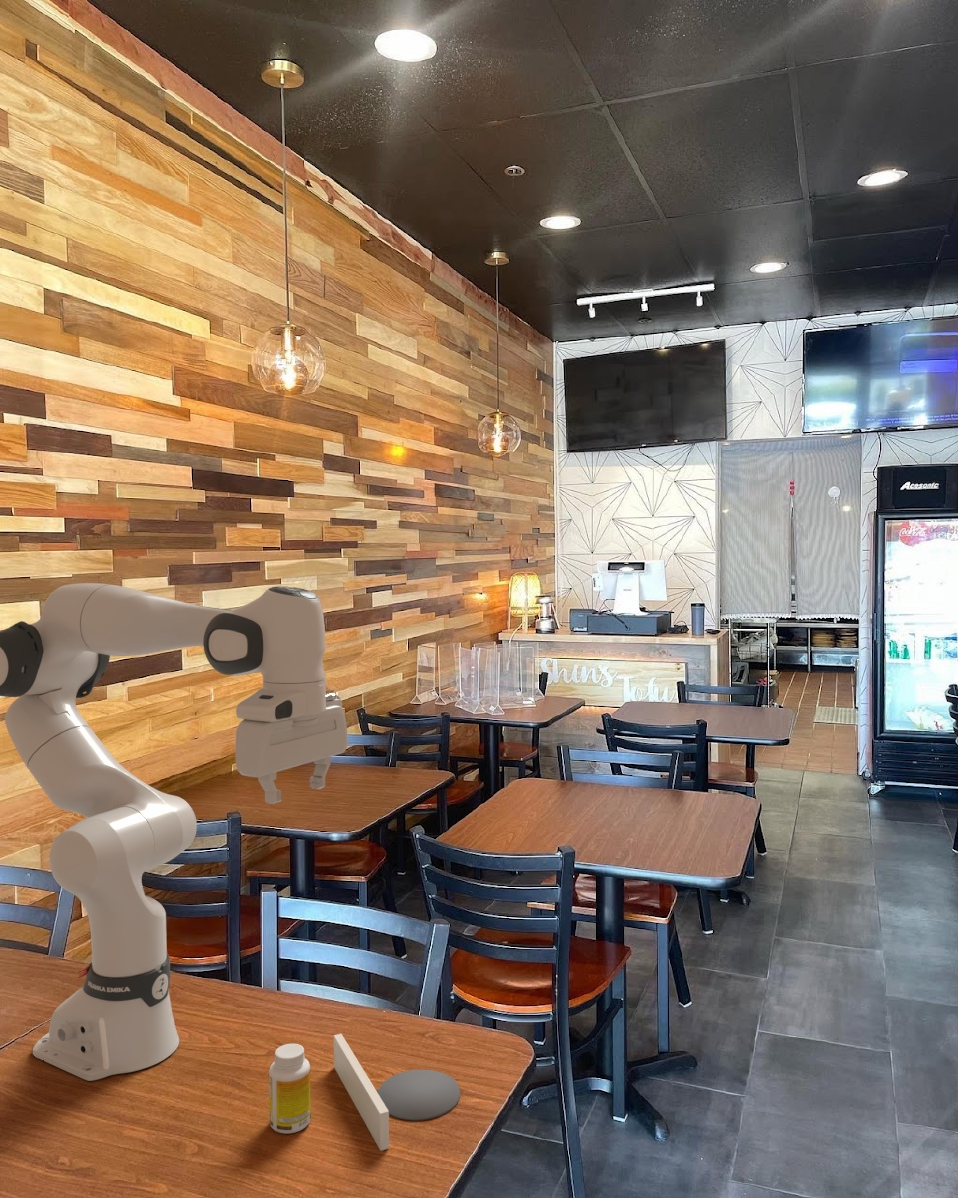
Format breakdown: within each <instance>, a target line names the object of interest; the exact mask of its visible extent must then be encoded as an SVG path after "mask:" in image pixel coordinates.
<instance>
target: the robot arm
mask: <svg viewBox="0 0 958 1198" xmlns="http://www.w3.org/2000/svg"><path fill="white" fill-rule="evenodd" d="M41 612H42V613H41V617H40V618H39V619H38V620H37V621H36V622H33V623H27V622H25V621H22V620H21V621H18V622H16V623H14V624H12V625H11V626H9V627H6V628H5V629H3V630H0V697H5V698H16V699H15V700H13V702H12V703H11V704H10V705H9V707H8V708H7V710H6V713H5V717H4V722H5V723H4V724H5V727H6V730H7V732H8V735H9V737H10V740H11V741H12V744H13V745H14V747H15V749H16V750H17V751H16V752H17V753H18V755H19V757H20V758H21V760H22V761H23V763H24V764H25V766H26V768H27V769H28V770H29V772H30V774H31V775H32V776H33V778H34V779H35V780H36V782H37V783H38V784H39V786H40V787H41V789H42V790H43V792H44V793H45V794H46V796H47V797H48V799H49V801H51V803H52V804H54V805H55V806H56V807H57V808H59V809H60V810H63V811H66V812H71V813H74V814H75V813H76V814H77V815H81V816H83V817H85V818H83V819H82V820H80V821H77V822H76V823H74V824H73V825H72V826H70V827H68V828H67V829H65V830H64V831H62V832H61V833H59V834H58V835H57V836H56V837H55V838H54V840H53V842H52V844H51V847H50V850H49V856H48V857H49V860H48V861H49V868H50V871H51V874H52V876H53V878H54V880H55V881H56V882H57V884H58V885H59V886H60V887H62V889H64V890H65V891H67V892H69V893H70V894H73V895H74V896H76V897H77V898H78V899H79V900H80V902H81V904H82V905H83V907H84V909H85V912H86V913H87V918H88V921H89V927H90V941H91V942H90V943H91V962H89V963H88V965H87V966H86V967H84V968H82V969H80V970H78V971H77V973H78V974H79V973H80V974H79V975H78V976H77V978H78V979H80V978H83V977H85V976H86V977H85V980H84V983H83V986H82V987H80V988H79V989H78V990H77V991H75V992H74V993H73V994H72V995H70V996H69V997H68V998H66V999H65V1000H64V1001H63V1002H62V1003H60V1005H59V1006H57V1007H56V1008H55V1010H54V1012H53V1013H52V1015H51V1018H50V1023H49V1029H48V1030H49V1031H47V1033H45V1034H44V1035H43V1036H42V1037H41V1038H40V1039H39V1040H37V1042H36V1043H35V1044H34V1046H33V1049H32V1054H33V1055H34V1056H35V1058H36V1059H39V1060H41V1061H43V1060H44V1062H46V1063H48V1064H50V1065H52V1066H55V1067H56V1068H58V1069H61V1070H63V1071H65V1072H67V1073H69V1074H72V1075H74V1076H76V1077H78V1078H80V1079H82V1080H85V1081H89V1082H91V1081H92V1082H93V1081H97V1080H101V1079H104V1078H107V1077H109V1076H114V1075H118V1074H119V1075H120V1074H126V1073H132V1072H136V1071H140V1070H143V1069H146V1068H149V1067H152V1066H154V1065H156V1064H159V1063H160V1062H162V1061H164V1060H165V1059H167V1058H168V1057H169V1056H171V1055H173V1053H174V1052H175V1051H176V1050H177V1048H178V1046H179V1044H180V1037H179V1035H178V1032H177V1028H176V1025H175V1024H176V1023H175V1018H174V1015H173V1014H174V1013H173V1009H172V1003H171V996H170V995H171V994H170V982H171V981H170V980H171V961H170V955H169V954H168V950H167V948H168V947H167V912H166V910H165V908H164V907H163V905H162V904H161V903H160V902H159V901H157V900H156V899H155V898H152V897H150V896H147V895H146V894H145V891H144V886H143V883H142V882H143V881H142V877H143V874H144V873H145V872H147V871H150V870H152V869H155V868H157V867H159V866H161V865H163V864H166V863H168V862H170V861H173V860H174V859H175V858H176V857H178V855H180V854H182V853H183V852H184V851H185V850H186V849H188V848H189V847H190V846H191V845H192V844H193V842H194V840H195V837H196V836H197V835H196V834H197V830H198V829H197V828H198V827H197V826H198V825H197V823H198V822H197V817H196V814H195V812H194V810H193V808H192V807H191V805H190V804H189V803H188V802H187V801H186V800H185V799H183V798H181V797H180V796H177V795H173V794H169V793H165V792H162V791H160V790H158V789H156V788H154V787H153V786H150V785H149V784H147V783H145V781H143V780H141V779H140V778H138V777H137V776H135V775H134V774H132V773H131V772H130V771H128V770H127V769H126V768H125V767H124V766H123V765H122V764H121V763H120V762H118V761H117V759H116V758H115V757H114V756H113V754H112V753H111V752H110V751H109V750H108V748H107V747H106V745H104V743H103V742H102V741H101V740H100V738H99V737H98V736H97V734H96V733H95V732H94V730H93V729H92V727H91V726H90V725H89V724H88V722H87V721H86V720H85V718H84V717H83V716H82V715H81V713H80V711H79V709H78V708H77V707H78V706H77V703H76V702H77V701H76V700H77V699H79V698H81V699H82V698H85V697H87V696H89V695H90V694H91V693H92V691H93V689H94V687H95V685H96V684H97V683H98V682H99V681H100V680H101V679H102V677H103V676H105V673H106V671H107V669H108V667H109V663H110V659H111V658H110V657H111V656H113V657H130V656H131V657H132V656H133V657H134V656H141V655H149V654H154V653H159V652H160V653H161V652H164V651H165V652H166V651H170V650H171V651H172V650H177V649H182V648H191V647H203V650H204V651H203V652H204V655H205V657H206V659H207V661H208V663H209V664H210V666H211V667H212V668H213V669H214V670H215V671H216V672H218V673H220V674H223V675H224V676H225V675H228V676H233V677H234V676H235V677H237V676H245V675H251V674H257V673H261V675H262V688H260V689H258V690H257V691H256V692H254V693H253V694H252V695H250V696H248V697H247V698H245V699H244V700H242V701H241V702H239V703H237V705H236V711H235V712H236V713H235V714H236V717H237V718H238V719H240V720H241V721H240V722H239V724H238V726H237V728H236V732H235V747H234V748H235V749H234V750H235V753H234V754H235V767H236V770H237V772H239V774H240V775H241V776H245V777H249V778H250V777H251V778H257V780H258V782H259V784H260V786H261V788H262V790H263V791H264V801H265V803H266V804H269V805H274V804H275V805H276V804H277V803H280V802H282V789H279V788H278V789H277V786H276V784H275V781H276V780H277V772H281V771H285V770H289V769H291V768H294V767H299V766H301V765H302V766H303V765H306V764H310V763H312V762H313V764H315V766H314V770H313V775H311V776H309V787H310V789H312V790H321V789H323V788H325V787H326V776H327V773H328V771H329V769H330V766H331V757H334V756H337V755H340V754H343V753H345V752H346V750H347V748H348V744H349V742H348V740H349V738H348V727H347V719H346V714H345V711H344V709H343V701H342V699H341V698H340V697H339V695H337V694H336V693H335V692H328V693H326V692H327V688H326V686H327V685H326V684H327V683H326V680H327V679H326V673H325V670H324V662H323V661H324V660H323V659H324V655H325V652H326V630H325V629H326V628H325V618H324V616H325V615H324V611H323V606H322V602H321V600H320V598H319V596H318V595H317V594H315V593H314V592H313V591H310V590H309V589H306V588H305V589H304V588H299V587H294V586H293V587H291V586H283V585H282V586H281V585H279V586H272V587H269V588H267V589H266V590H265V591H264V592H263V594H262V595H260V596H259V597H258V598H256V599H254V600H253V601H251V602H249V603H247V604H245V605H242V606H239V607H237V608H234V609H226V608H218V607H217V608H216V607H211V606H203V605H197V604H192V603H189V602H184V601H181V600H177V599H173V598H168V597H167V596H166V597H165V596H161V595H157V594H154V593H150V592H147V591H143V590H139V589H135V588H132V587H127V586H122V585H116V584H110V583H109V584H108V583H98V582H97V583H96V582H95V583H93V582H83V583H73V584H72V583H71V584H65V585H64V584H63V585H62V586H59V587H57V588H56V589H54V590H53V591H52V592H51V593H50V594H49V595H48V597H46V599H45V601H44V603H43V607H42V611H41ZM33 1055H32V1056H33ZM34 1056H33V1057H34Z"/></svg>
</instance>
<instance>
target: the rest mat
mask: <svg viewBox="0 0 958 1198" xmlns="http://www.w3.org/2000/svg"><path fill="white" fill-rule="evenodd" d="M378 1087H379V1088H378V1090H377V1093H378V1094H379V1096H380V1098H381V1099H382V1101H383V1103H384V1104H385V1106H386V1108H387V1109H388V1111H389V1116H391V1117H394V1118H397V1119H400V1120H405V1121H428V1120H432V1119H435V1118H438V1117H441V1116H443V1115H445V1114H447V1113H449V1112H450V1111H452V1110H453V1109H454V1108H455V1107H456V1106H457V1105H458V1103H459V1101H460V1098H461V1087H460V1085H459V1083H458V1082H457V1081H456V1079H454V1078H453V1077H452V1076H450V1075H449V1074H446V1073H444V1072H441V1071H436V1070H432V1069H411V1070H406V1071H402V1072H399V1073H396V1074H395V1075H392V1076H390V1077H388V1078H387V1079H386V1080H384V1082H382V1084H380V1086H378Z"/></svg>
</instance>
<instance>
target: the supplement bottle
mask: <svg viewBox="0 0 958 1198" xmlns="http://www.w3.org/2000/svg"><path fill="white" fill-rule="evenodd" d="M310 1064H311V1063H310V1062H309V1060H308V1059H307V1058H305V1048H304V1047H303V1045H301V1044H298V1043H287V1044H282V1045H281V1046H278V1048H276V1049H275V1052H274V1062H272V1063H271V1065H270V1066H269V1071H268V1078H269V1079H268V1081H269V1082H268V1086H269V1087H268V1089H269V1090H268V1093H269V1095H268V1096H269V1099H268V1100H269V1125H270V1127H271V1128H272V1129H273V1130H274V1131H275V1132H276V1133H279V1134H288V1135H289V1134H294V1133H295V1134H296V1133H297V1132H300V1131H302V1130H303V1129H305V1128H306V1127H307V1126H308V1125H309V1124H310V1122H311V1118H312V1113H311V1112H312V1102H311V1101H312V1100H311V1096H312V1095H311V1065H310Z"/></svg>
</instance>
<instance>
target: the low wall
mask: <svg viewBox="0 0 958 1198" xmlns="http://www.w3.org/2000/svg"><path fill="white" fill-rule="evenodd" d="M333 1068H334V1069H335V1072H336V1074H337V1075H338V1077H339V1079H340V1081H341V1083H342V1084H343V1086H344V1088H345V1090H346V1091H347V1093H348V1095H349V1097H350V1098H351V1100H352V1102H353V1105H354V1106H355V1108H356V1110H357V1112H358V1113H359V1115H360V1117H361V1118H362V1121H363V1122H364V1123H365V1125H366V1128H367V1129H368V1132H370V1134H371V1138H372V1139H373V1140H374V1142H375V1143H376V1146H377V1147H378V1149H379V1151H380V1152H382V1151H385V1150H389V1149H390V1115H389V1111H388V1109H387V1108H386V1106H385V1104H384V1103H383V1101H382V1099H381V1098H380V1096H379V1094H378V1090H376V1088H375V1086H374V1085H373V1083H372V1081H371V1080H370V1078H369V1077H368V1076H369V1075H368V1074H367V1073H366V1071H365V1070H364V1068H363V1066H362V1065H361V1063H360V1062H359V1060H358V1058H357V1057H356V1055H355V1053H354V1052H353V1050H352V1049H351V1047H350V1045H349V1044H348V1042H347V1041H346V1039H345V1037H344V1036H343V1034H342V1033H337V1034H334V1035H333Z"/></svg>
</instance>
